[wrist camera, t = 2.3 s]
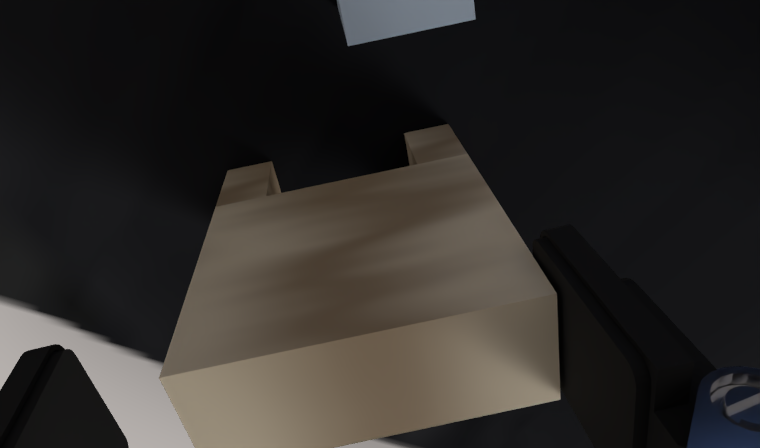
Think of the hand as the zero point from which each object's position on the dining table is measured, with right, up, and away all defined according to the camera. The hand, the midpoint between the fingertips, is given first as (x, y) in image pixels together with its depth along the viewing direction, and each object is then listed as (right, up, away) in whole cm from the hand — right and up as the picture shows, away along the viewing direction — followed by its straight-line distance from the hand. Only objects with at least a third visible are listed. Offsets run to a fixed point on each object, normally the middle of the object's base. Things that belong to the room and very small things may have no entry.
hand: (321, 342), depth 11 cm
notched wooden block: (0, +4, +7) cm, 8 cm away
